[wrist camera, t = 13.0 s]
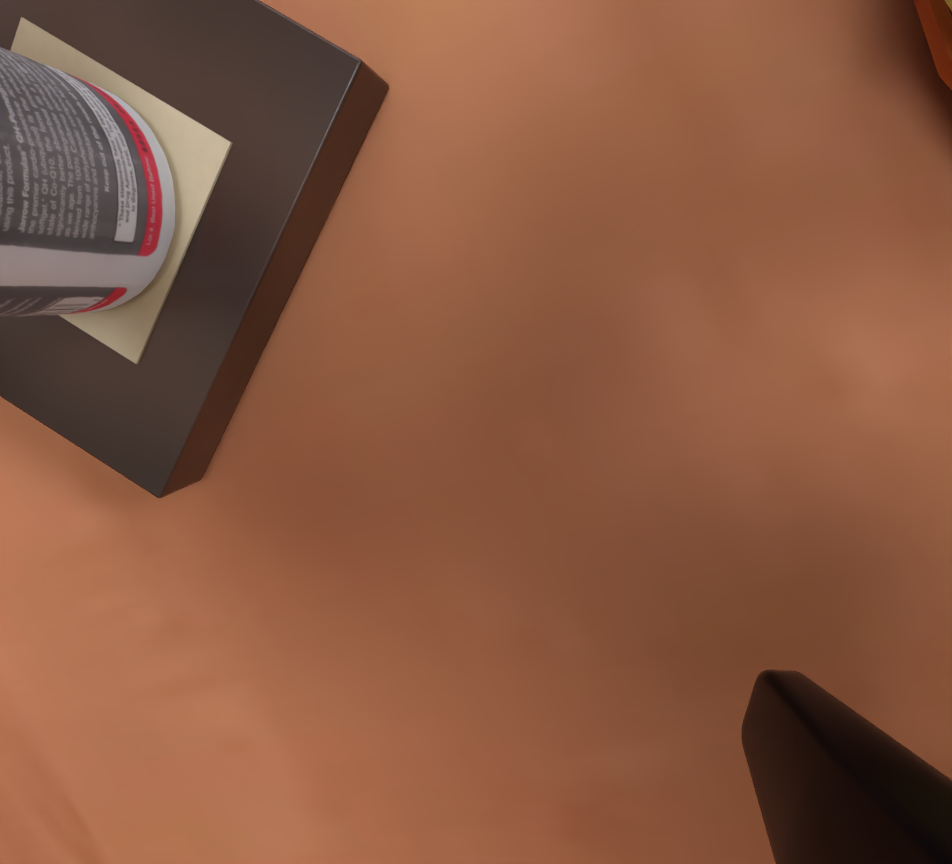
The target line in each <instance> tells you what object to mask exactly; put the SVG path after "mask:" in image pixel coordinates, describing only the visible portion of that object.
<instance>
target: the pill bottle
mask: <svg viewBox="0 0 952 864" xmlns="http://www.w3.org/2000/svg"><path fill="white" fill-rule="evenodd" d="M174 229H175V195H174V188H173V179H172V175H171V172H170V168H169V165H168V162H167V159H166V156H165V154H164V152H163V150H162V148H161V146H160V144H159V143H158V141H157V139H156V137H155V135H154V133H153V132H152V130H151V129H150V128H149V126H148V125H147V124H146V122H145V121H144V120H143V119H142V118H141V117H140V116H139V114H138V113H137V112H136V111H135V110H133V109H132V108H131V107H130V106H129V105H128V104H127V103H125V102H124V101H123V100H121V99H120V98H119V97H117V96H116V95H114V94H112V93H110V92H108V91H106V90H104V89H102V88H100V87H98V86H96V85H94V84H92V83H89V82H86V81H84V80H82V79H80V78H78V77H75V76H72V75H70V74H67V73H65V72H63V71H61V70H58V69H56V68H53V67H50V66H48V65H44V64H42V63H39V62H36V61H34V60H32V59H29V58H27V57H25V56H22V55H20V54H17V53H15V52H12V51H9V50H6V49H4V48H1V47H0V317H11V316H36V315H62V314H76V313H90V312H97V311H103V310H107V309H111V308H114V307H116V306H119V305H121V304H123V303H125V302H127V301H129V300H130V299H132V298H133V297H135V296H136V295H138V294H139V293H141V292H142V291H143V290H144V289H145V288H146V287H147V286H148V285H149V284H150V283H151V282H152V280H153V279H154V278H155V276H156V274H157V272H158V271H159V270H160V268H161V266H162V264H163V262H164V260H165V258H166V255H167V252H168V249H169V246H170V243H171V241H172V237H173V233H174Z"/></svg>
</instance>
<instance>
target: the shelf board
mask: <svg viewBox="0 0 952 864" xmlns="http://www.w3.org/2000/svg"><path fill="white" fill-rule="evenodd" d="M0 47H1V48H4V49H6V50H9V51H12V52H15V53H17V54H20V55H22V56H25V57H27V58H29V59H32V60H34V61H36V62H39V63H42V64H44V65H48V66H50V67H53V68H56V69H58V70H61V71H63V72H65V73H67V74H70V75H72V76H75V77H78V78H80V79H82V80H84V81H86V82H89V83H92V84H94V85H96V86H98V87H100V88H102V89H104V90H106V91H108V92H110V93H112V94H114V95H116V96H117V97H119V98H120V99H121V100H123V101H124V102H125V103H127V104H128V105H129V106H130V107H131V108H132V109H133V110H135V111H136V112H137V113H138V114H139V116H140V117H141V118H142V119H143V120H144V121H145V122H146V124H147V125H148V126H149V128H150V129H151V130H152V132H153V133H154V135H155V137H156V139H157V141H158V143H159V144H160V146H161V148H162V150H163V152H164V154H165V156H166V159H167V162H168V165H169V168H170V172H171V175H172V179H173V188H174V195H175V229H174V233H173V237H172V241H171V243H170V246H169V249H168V252H167V255H166V258H165V260H164V262H163V264H162V266H161V268H160V270H159V271H158V272H157V274H156V276H155V278H154V279H153V280H152V282H151V283H150V284H149V285H148V286H147V287H146V288H145V289H144V290H143V291H142V292H141V293H139V294H138V295H136V296H135V297H133V298H132V299H130V300H129V301H127V302H125V303H123V304H121V305H119V306H116V307H114V308H111V309H107V310H103V311H97V312H90V313H76V314H62V315H36V316H11V317H0V396H1V397H2V398H4V399H5V400H7V401H8V402H10V403H12V404H13V405H15V406H16V407H18V408H19V409H21V410H22V411H24V412H26V413H27V414H29V415H30V416H32V417H33V418H35V419H36V420H38V421H40V422H41V423H43V424H44V425H46V426H47V427H49V428H50V429H52V430H53V431H55V432H57V433H58V434H60V435H61V436H63V437H64V438H66V439H67V440H69V441H71V442H72V443H74V444H75V445H77V446H78V447H80V448H81V449H83V450H85V451H86V452H88V453H89V454H91V455H92V456H94V457H95V458H97V459H98V460H100V461H102V462H103V463H105V464H106V465H108V466H109V467H111V468H112V469H114V470H116V471H117V472H119V473H120V474H122V475H123V476H125V477H126V478H128V479H130V480H131V481H133V482H134V483H136V484H137V485H139V486H140V487H142V488H143V489H145V490H147V491H148V492H150V493H151V494H153V495H154V496H156V497H157V498H162V497H164V496H166V495H168V494H171V493H173V492H175V491H177V490H179V489H182V488H184V487H186V486H188V485H191V484H193V483H195V482H197V481H199V480H201V479H202V477H203V475H204V472H205V470H206V468H207V466H208V464H209V462H210V460H211V458H212V456H213V454H214V452H215V449H216V447H217V445H218V443H219V441H220V439H221V437H222V435H223V433H224V431H225V429H226V426H227V424H228V422H229V420H230V418H231V416H232V414H233V412H234V410H235V408H236V406H237V403H238V401H239V399H240V397H241V395H242V393H243V391H244V389H245V387H246V385H247V383H248V380H249V378H250V376H251V374H252V372H253V370H254V368H255V366H256V364H257V362H258V360H259V357H260V355H261V353H262V351H263V349H264V347H265V345H266V343H267V341H268V339H269V337H270V334H271V332H272V330H273V328H274V326H275V324H276V322H277V320H278V318H279V316H280V314H281V311H282V309H283V307H284V305H285V303H286V301H287V299H288V297H289V295H290V293H291V291H292V288H293V286H294V284H295V282H296V280H297V278H298V276H299V274H300V272H301V270H302V268H303V265H304V263H305V261H306V259H307V257H308V255H309V253H310V251H311V249H312V247H313V245H314V242H315V240H316V238H317V236H318V234H319V232H320V230H321V228H322V226H323V224H324V222H325V219H326V217H327V215H328V213H329V211H330V209H331V207H332V205H333V203H334V201H335V199H336V196H337V194H338V192H339V190H340V188H341V186H342V184H343V182H344V180H345V178H346V176H347V173H348V171H349V169H350V167H351V165H352V163H353V161H354V159H355V157H356V155H357V153H358V150H359V148H360V146H361V144H362V142H363V140H364V138H365V136H366V134H367V132H368V130H369V127H370V125H371V123H372V121H373V119H374V117H375V115H376V113H377V111H378V109H379V107H380V104H381V102H382V100H383V98H384V96H385V94H386V92H387V90H388V87H389V85H388V84H387V83H386V82H385V81H384V80H383V79H382V78H381V77H379V76H378V75H377V74H376V73H375V72H374V71H373V70H372V69H371V68H370V67H368V66H367V65H366V64H365V63H364V62H363V61H362V60H361V59H359V58H357V57H355V56H354V55H352V54H350V53H349V52H347V51H345V50H343V49H342V48H340V47H338V46H337V45H335V44H333V43H331V42H330V41H328V40H326V39H325V38H323V37H321V36H319V35H318V34H316V33H314V32H313V31H311V30H309V29H307V28H306V27H304V26H302V25H300V24H299V23H297V22H295V21H294V20H292V19H290V18H288V17H287V16H285V15H283V14H282V13H280V12H278V11H276V10H275V9H273V8H271V7H270V6H268V5H266V4H264V3H263V2H261V1H259V0H0Z"/></svg>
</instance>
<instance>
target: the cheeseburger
mask: <svg viewBox="0 0 952 864" xmlns="http://www.w3.org/2000/svg"><path fill="white" fill-rule="evenodd" d="M914 3H915V6H916V9H917V12H918V15H919V18H920V21H921V24H922V27H923V30H924V33H925V36H926V39H927V42H928V45H929V48H930V51H931V54H932V57H933V60H934V63H935V66H936V69H937V72H938V75H939V77H940V78H941V79H942V80H943V81H944V82H945V83H946V84H947V86H948V87H949V88H950V89H951V90H952V0H914Z"/></svg>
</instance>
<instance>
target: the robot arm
mask: <svg viewBox="0 0 952 864" xmlns="http://www.w3.org/2000/svg"><path fill="white" fill-rule="evenodd" d="M742 744H743V748H744V752H745V756H746V759H747V763H748V766H749V770H750V774H751V777H752V781H753V784H754V788H755V791H756V795H757V799H758V802H759V806H760V809H761V813H762V816H763V820H764V824H765V827H766V831H767V834H768V838H769V841H770V845H771V848H772V852H773V856H774V859H775V863H776V864H952V780H951V779H949V778H948V777H946V776H945V775H944V774H942V773H941V772H939V771H938V770H937V769H935V768H934V767H932V766H931V765H929V764H928V763H927V762H925V761H924V760H922V759H921V758H920V757H918V756H917V755H915V754H914V753H913V752H911V751H910V750H908V749H907V748H906V747H904V746H903V745H901V744H900V743H899V742H897V741H896V740H894V739H893V738H892V737H890V736H889V735H887V734H886V733H884V732H883V731H882V730H880V729H879V728H877V727H876V726H875V725H873V724H872V723H870V722H869V721H868V720H866V719H865V718H863V717H862V716H861V715H859V714H858V713H856V712H855V711H854V710H852V709H851V708H849V707H848V706H846V705H845V704H844V703H842V702H841V701H839V700H838V699H837V698H835V697H834V696H832V695H831V694H830V693H828V692H827V691H825V690H824V689H823V688H821V687H820V686H818V685H817V684H816V683H814V682H813V681H811V680H810V679H809V678H807V677H806V676H804V675H803V674H801V673H799V672H796V671H784V670H765V671H762V672H761V673H760V674H759V675H758V677H757V679H756V681H755V684H754V688H753V691H752V694H751V697H750V701H749V704H748V707H747V710H746V713H745V717H744V720H743V724H742Z"/></svg>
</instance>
